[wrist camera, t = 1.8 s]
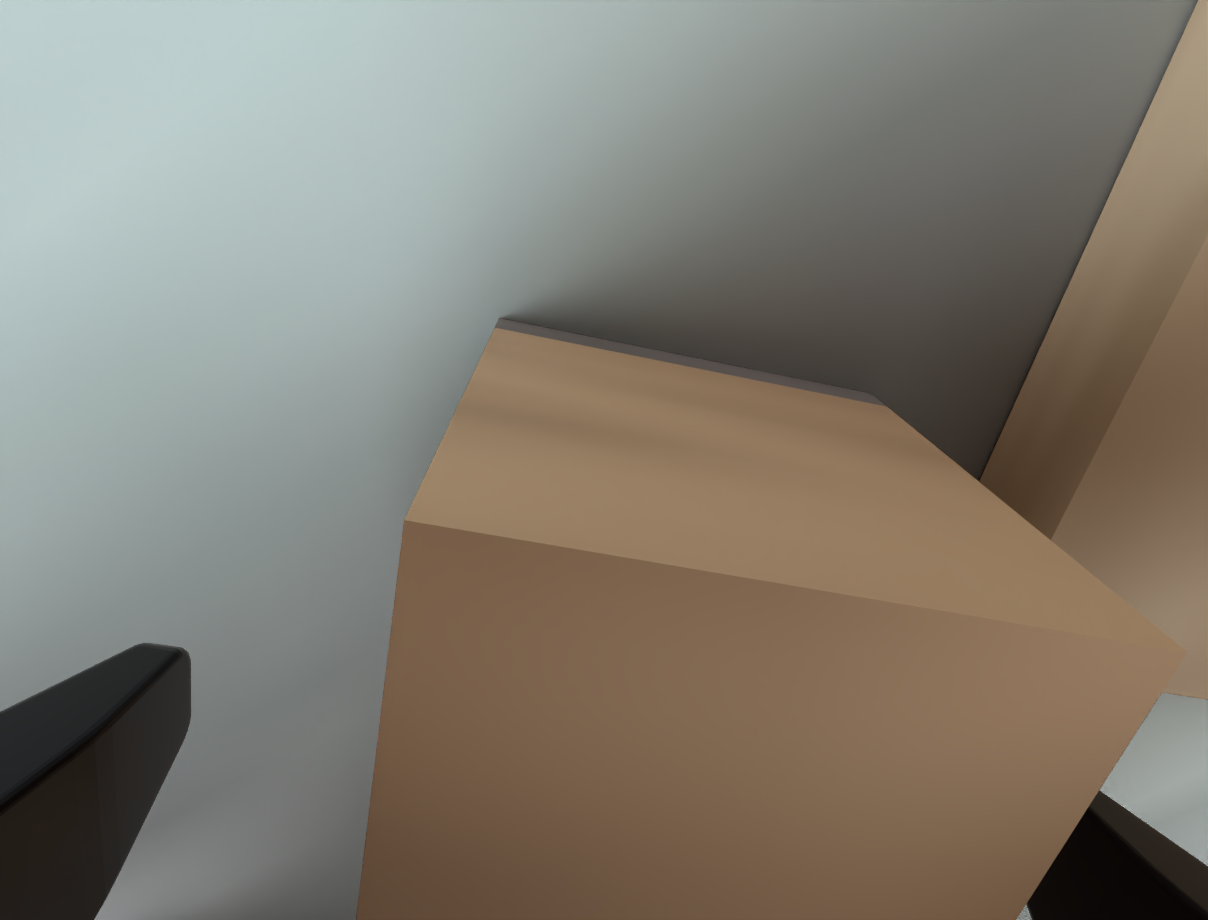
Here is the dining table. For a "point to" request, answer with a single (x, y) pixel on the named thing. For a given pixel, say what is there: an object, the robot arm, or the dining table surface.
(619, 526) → the block
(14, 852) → the robot arm
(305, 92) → the dining table surface
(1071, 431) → the board
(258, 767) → the dining table surface
